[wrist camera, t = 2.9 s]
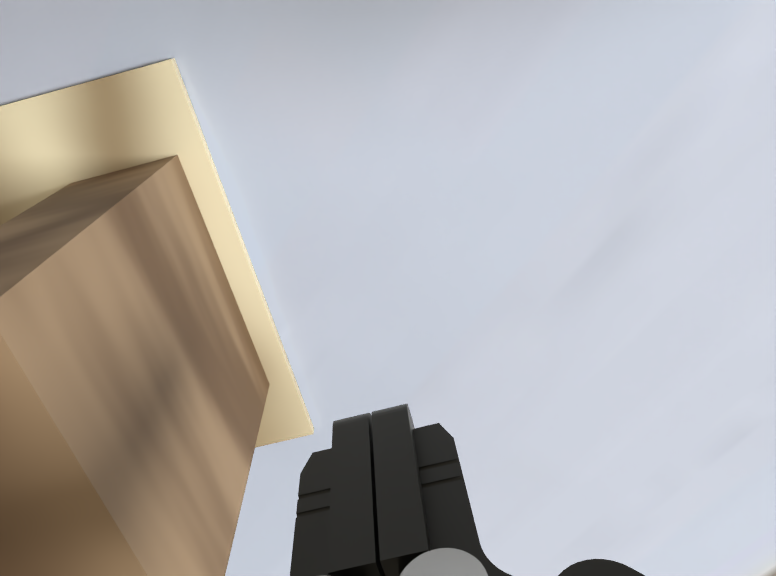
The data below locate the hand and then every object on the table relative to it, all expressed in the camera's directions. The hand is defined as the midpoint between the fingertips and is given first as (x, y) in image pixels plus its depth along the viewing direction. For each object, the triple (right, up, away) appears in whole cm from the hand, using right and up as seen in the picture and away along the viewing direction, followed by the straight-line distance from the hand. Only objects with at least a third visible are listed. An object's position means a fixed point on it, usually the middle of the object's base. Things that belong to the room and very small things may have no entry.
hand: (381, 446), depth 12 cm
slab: (-8, +3, +11) cm, 14 cm away
